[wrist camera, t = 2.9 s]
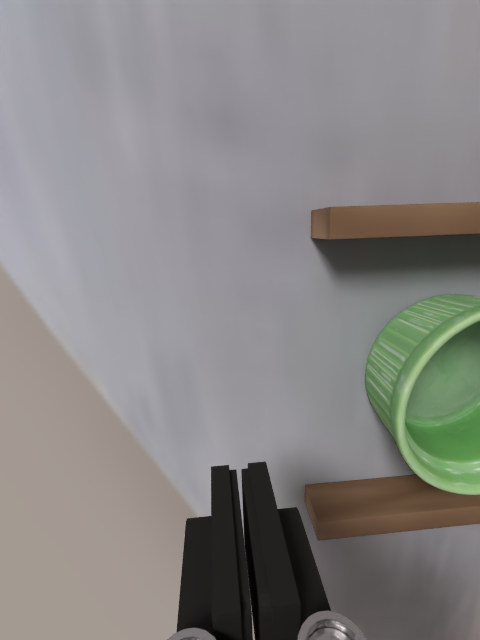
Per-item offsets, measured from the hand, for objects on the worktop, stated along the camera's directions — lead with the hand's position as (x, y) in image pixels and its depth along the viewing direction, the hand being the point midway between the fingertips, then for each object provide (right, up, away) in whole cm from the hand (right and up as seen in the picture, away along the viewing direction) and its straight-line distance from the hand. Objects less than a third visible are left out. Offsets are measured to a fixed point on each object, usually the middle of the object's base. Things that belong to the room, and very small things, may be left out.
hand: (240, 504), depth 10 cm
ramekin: (+10, +3, +8) cm, 14 cm away
